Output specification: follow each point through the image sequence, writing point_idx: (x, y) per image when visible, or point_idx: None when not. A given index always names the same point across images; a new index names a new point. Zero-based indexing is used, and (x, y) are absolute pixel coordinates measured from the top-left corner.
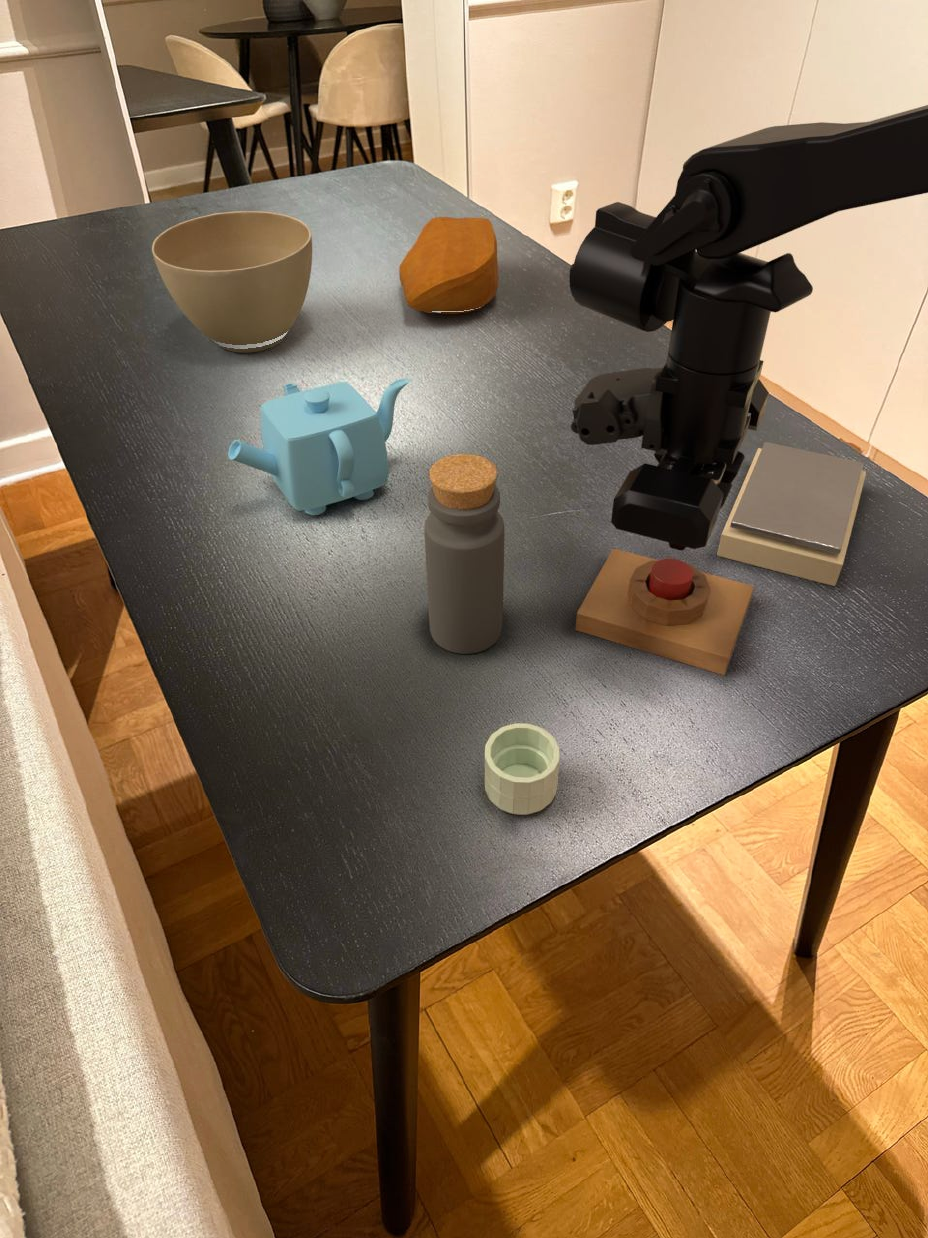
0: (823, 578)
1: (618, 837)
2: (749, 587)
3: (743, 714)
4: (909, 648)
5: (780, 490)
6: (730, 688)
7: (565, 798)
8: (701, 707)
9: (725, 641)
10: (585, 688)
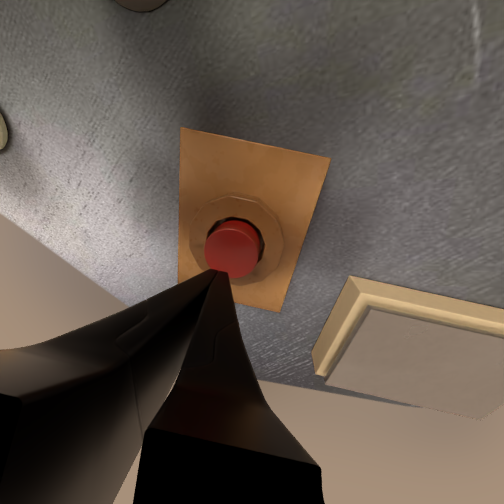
0: (315, 349)
1: (6, 211)
2: (276, 308)
3: (155, 288)
4: None
5: (437, 357)
6: (176, 281)
7: (3, 164)
8: (147, 261)
9: None
10: (119, 161)
